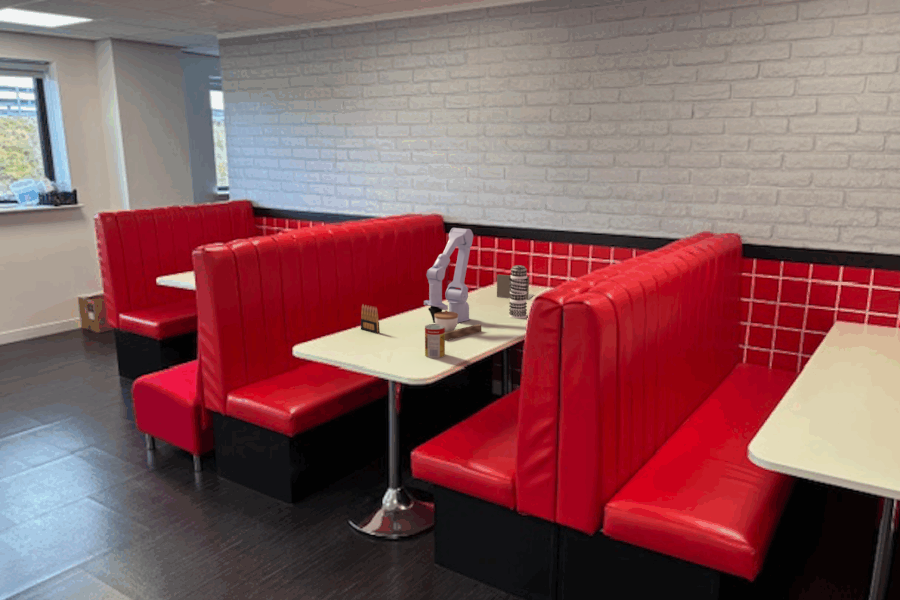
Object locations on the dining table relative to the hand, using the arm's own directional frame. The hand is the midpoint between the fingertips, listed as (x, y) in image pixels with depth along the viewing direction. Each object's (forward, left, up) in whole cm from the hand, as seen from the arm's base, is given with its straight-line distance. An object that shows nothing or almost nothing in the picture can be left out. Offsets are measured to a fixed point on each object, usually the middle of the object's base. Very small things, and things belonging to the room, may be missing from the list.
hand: (435, 322), depth 316 cm
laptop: (-77, -21, -3) cm, 80 cm away
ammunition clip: (+26, -15, -3) cm, 30 cm away
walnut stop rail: (0, +18, -2) cm, 18 cm away
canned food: (+28, +32, -3) cm, 42 cm away
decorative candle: (-44, +11, -3) cm, 45 cm away
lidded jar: (0, +7, -3) cm, 8 cm away
